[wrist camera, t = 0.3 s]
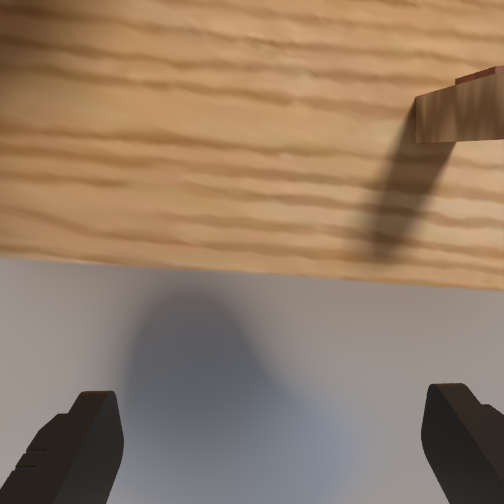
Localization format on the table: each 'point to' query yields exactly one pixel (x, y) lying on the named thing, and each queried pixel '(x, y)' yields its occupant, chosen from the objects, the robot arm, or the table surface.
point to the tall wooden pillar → (463, 110)
